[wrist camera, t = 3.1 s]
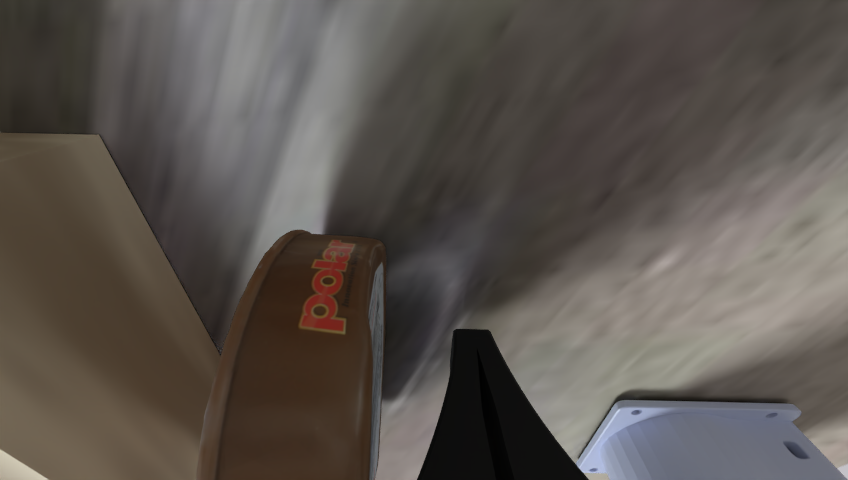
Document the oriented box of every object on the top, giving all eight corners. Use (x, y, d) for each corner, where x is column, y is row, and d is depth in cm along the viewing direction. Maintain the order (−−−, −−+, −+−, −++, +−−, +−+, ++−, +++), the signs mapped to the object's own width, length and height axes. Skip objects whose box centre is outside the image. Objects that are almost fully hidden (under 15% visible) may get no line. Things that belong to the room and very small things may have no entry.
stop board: (98, 134, 9) (-320, 248, 4) (285, 473, 22) (242, 601, 17) (-2, 132, 9) (-545, 243, 4) (244, 473, 22) (189, 600, 17)
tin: (311, 181, 10) (8, 533, 3) (407, 190, 10) (357, 548, 3) (337, 419, 18) (278, 664, 11) (390, 423, 18) (365, 667, 11)
